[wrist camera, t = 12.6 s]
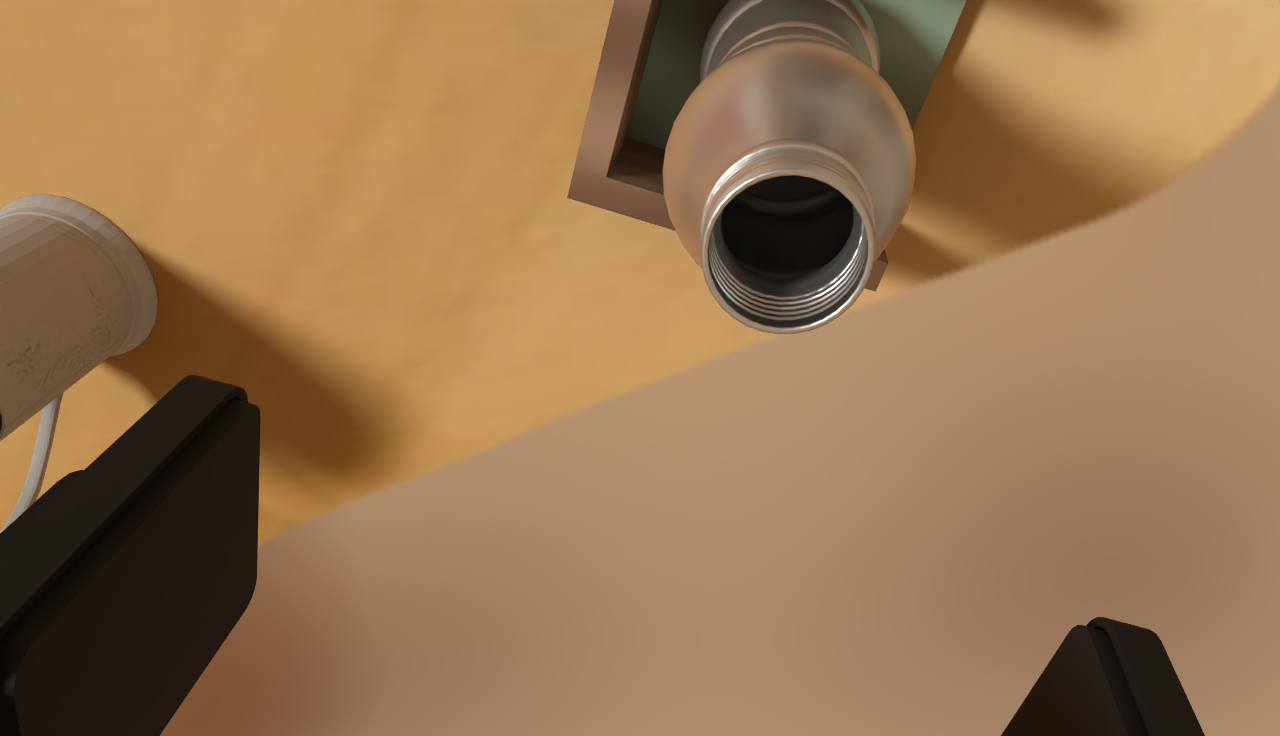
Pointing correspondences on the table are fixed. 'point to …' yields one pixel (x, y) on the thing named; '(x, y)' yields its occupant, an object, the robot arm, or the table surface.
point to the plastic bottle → (789, 161)
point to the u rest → (670, 71)
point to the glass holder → (62, 311)
